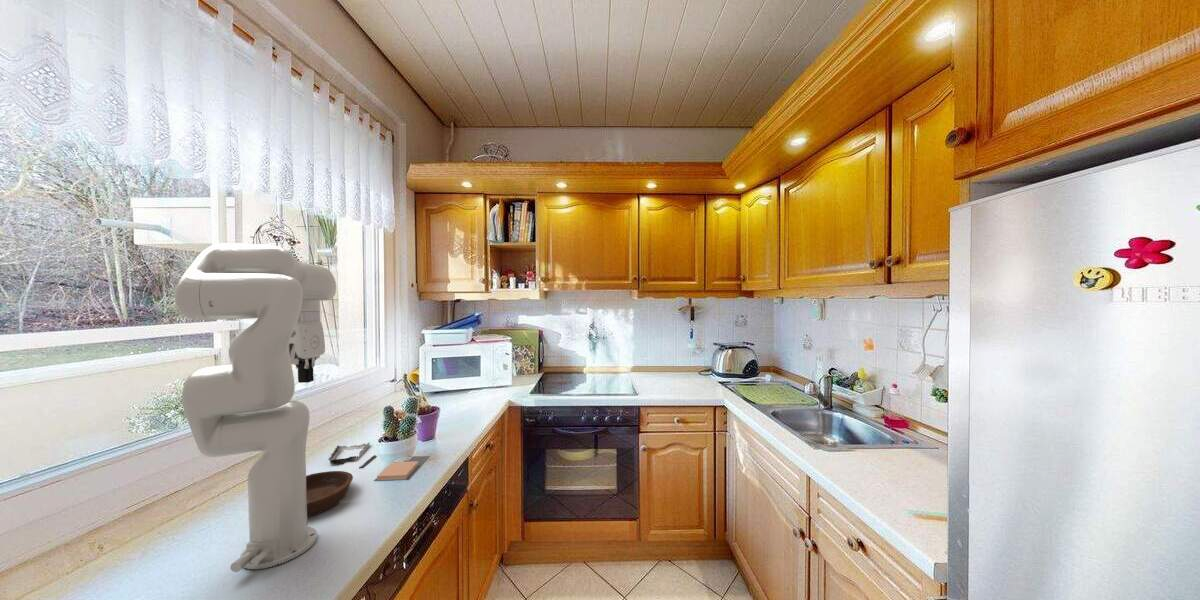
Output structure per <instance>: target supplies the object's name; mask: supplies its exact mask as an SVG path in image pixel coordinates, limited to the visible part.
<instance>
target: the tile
mask: <svg viewBox="0 0 1200 600" xmlns="http://www.w3.org/2000/svg"><path fill="white" fill-rule="evenodd" d="M418 465H419V461H412V462H394V461H391V462H390V463H389V465H387V466H386V467H385V468H384V469H383V470H382V471H381V472H379V474H378V475H377V477H376V478H377V480H394V481H399V480H398V479H407V477H408V476H409V475H410V474H411V473H412V472H413V471H414V470H415V469H416V468H417V466H418Z"/></svg>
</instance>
